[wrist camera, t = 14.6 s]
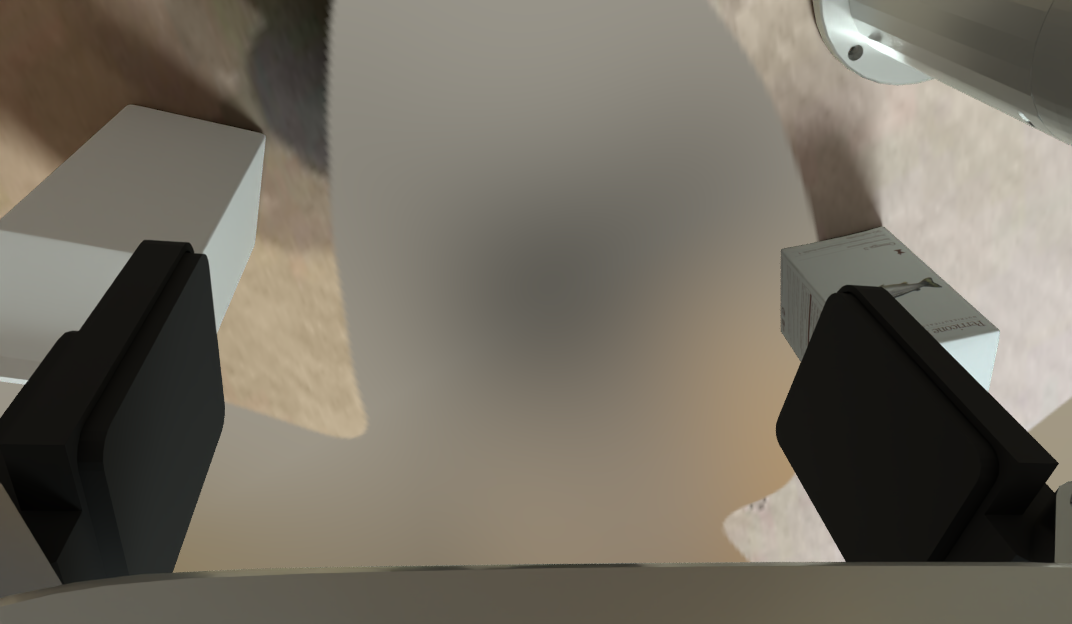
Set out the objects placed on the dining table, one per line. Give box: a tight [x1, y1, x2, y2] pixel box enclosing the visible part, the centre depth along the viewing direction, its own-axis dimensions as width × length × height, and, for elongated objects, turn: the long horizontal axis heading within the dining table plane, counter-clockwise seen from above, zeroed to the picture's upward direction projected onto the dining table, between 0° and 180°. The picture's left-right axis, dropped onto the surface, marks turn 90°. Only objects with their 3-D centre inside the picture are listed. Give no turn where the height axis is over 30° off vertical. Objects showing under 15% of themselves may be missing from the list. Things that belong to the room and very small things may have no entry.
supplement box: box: [781, 227, 1000, 392], centre depth 46 cm, size 7×7×13 cm
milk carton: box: [0, 105, 266, 384], centre depth 34 cm, size 7×7×19 cm
